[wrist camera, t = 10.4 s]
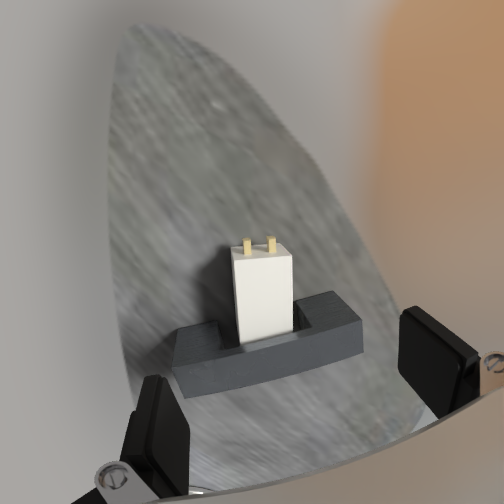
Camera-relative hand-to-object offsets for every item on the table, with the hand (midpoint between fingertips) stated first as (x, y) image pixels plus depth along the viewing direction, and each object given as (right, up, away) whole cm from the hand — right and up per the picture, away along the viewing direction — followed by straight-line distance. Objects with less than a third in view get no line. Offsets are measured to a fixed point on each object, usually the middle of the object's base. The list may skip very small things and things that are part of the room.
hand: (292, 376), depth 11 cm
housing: (-1, -2, +16) cm, 16 cm away
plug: (-1, 0, +16) cm, 16 cm away
